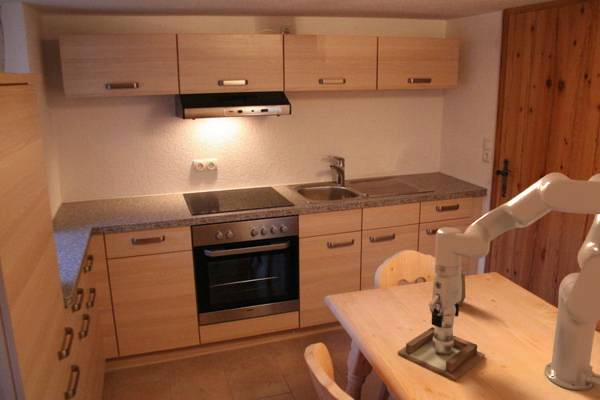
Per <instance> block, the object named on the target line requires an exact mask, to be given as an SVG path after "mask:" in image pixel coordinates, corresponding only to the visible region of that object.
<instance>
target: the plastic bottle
mask: <svg viewBox="0 0 600 400" xmlns="http://www.w3.org/2000/svg"><path fill="white" fill-rule="evenodd" d="M438 304H439V305H441V303H438ZM436 309H437V310H438V311H439V309H440V307H436ZM455 313H456V308H455V305H453V306H451V307H450V308H448V309H444V308H443V311H442V313H441V315H442V327H441V328H439V327H437V326H434V328H435V330H434V336H433V340H432V347H433V349H434V350H435V351H436V352H437V353H440V354H449V353H451V352H452V351H453V348H454V339H453V335H454V323H455V322H454V321H455V318H456V316H455Z"/></svg>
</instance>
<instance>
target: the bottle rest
mask: <svg viewBox="0 0 600 400" xmlns="http://www.w3.org/2000/svg"><path fill="white" fill-rule="evenodd" d="M434 330H435V327H433V326H432V327H430V328H429V329H427V330H426V331H424V332H422V333H421V334H419V335H417V336H415V337H414V338H413V339H411V340H410V341H408V342H406V344H405V346H404V347H402V348H401V349H399V350H398V351H397V355H398V356H400V357H402V358H405V359H407V360H408V361H411V362H413V363H415V364H418V365H419V366H422V367H424V368H426V369H428V370H431V371H432V372H434V373H437V374H439V375H441V376H443V377H445V378H448V379H449V380H452V381H453V382H456V381H458V380H459V379H460V378H461V377H462V376H463V375H464V374H466V373H467V372H468V371H469V370H470V369H472V368H473V367H475V366H476V365H477V364H478V363H479V362H481V361H482V360H483V359H484V358H486V354H485V353H483V352H481V351H478V344H476V343H474V342H471V341H468V340H466V339H463V338H461V337H459V336H456V335H454V334H453V339H454V348H453V351H452V352H451V353H449V354H440V353H437V352H436V351H435V350H434V349H433V347H432V340H433V336H434Z"/></svg>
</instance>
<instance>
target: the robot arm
mask: <svg viewBox="0 0 600 400" xmlns="http://www.w3.org/2000/svg"><path fill="white" fill-rule="evenodd" d="M551 211H556V212H563V213H571V214H572V213H573V214H585V215H594V219H593V222H592V224H591V227H590V229H589V230H588V232H587V236H586V237H585V239H584V241H583V243H582V245H581V247H580V249H579V251H578V253H577V263H578V266H579V267H580V271H579V272H573V273H569V274H567V275H566V276H564V277H563V279H562V280H561V282H560V284H559V288H558V302H557V303H558V305H557V315H556V316H557V317H556V325H555V332H554V340H553V347H552V348H553V349H552V355H551V356H552V357H551V362H549V363H548V364H546V365H545V366H544V370H543V371H544V375H545V376H546V378H547V379H548V380H549V381H551V382H552V383H554V384H556V385H558V386H560V387H562V388H564V389H565V388H566V389H569V390H573V391H576V390H577V391H584V390H589V389H591V388H592V387H593V386H594V385H596V386H598V387H600V374H597V373H595V372H594V371H593V368H594V367H593V365H590V364H591V359H592V353H593V352H592V351H593V344H594V340H595V339H594V338H595V332H596V325H597V322H598V321H600V173H596V174H594V175H592V176H591V177H590V178H589V179H587V180H577V179H571V178H569V177H568V176H567V175H565V174H564V173H561V172H550V173H547V174H546V175H545V176H543V177H541V178H540V179H538V180H537V181H535V182H534V183H532V184H531V185H530V186H528V187H527V188H525V189H524V190H523V191H522V192H520V193H519V194H517V195H516V196H514V197H512V198H511V199H510V200H508V201H507V202H505V203H503V204H501V205H499V206H498V207H496V208H494V209H492V210H490V211H489V212H487V213H486V214H484V215H483V216H481V217H480V218H478V219H477V220H476V221H475V222H473V223H472V224H470V225H469V226H468V227H467V228H466V229H465V230H464V233H463V232H462V231H461V230H460V229H459V228H457V227H450V226H447V227H446V226H445V227H440V228H438V230H437V231H436V233H435V253H434V278H433V284H432V285H433V286H432V296H431V297H432V298H431V300H430V302H429V304H428V306H429V310H430V313H431V325H432V326H434V327H435V326H437V327H439V328H441V327H442V315H441V313H442V311H443V308H444V309H448V308H450V307H451V306H453V305H455V308H456V313H455V318H457V317H459V312H460V311H459V310H460V306H459V305H458V304H459V303H460V300H461V299H462V277H461V268H462V257H463V258H464V257H465V258H469V259H473V260H477V259H478V260H480V259H484V258H485V257H486V256H487V255H488V254H489V252H490V250H491V249H490V248H491V241H493V240H495V239H496V238H498V236H500V235H502V234H504V233H506V232H508V231H510V230H512V229H519V228H521V229H522V228H526V227H530V226H531V225H532V224H533V223H535V222H536V221H539V219H541V218H543V217H544V216H545V215H547V214H548V213H550V212H551ZM438 303H441V305H439V304H438ZM436 307H440V309H439V311H438V310H437V309H436Z"/></svg>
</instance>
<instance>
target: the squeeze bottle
mask: <svg viewBox="0 0 600 400" xmlns="http://www.w3.org/2000/svg"><path fill="white" fill-rule="evenodd" d="M463 272H464V271H463V268H462V267H461V277H462V299H461V300H460V303H459V304H458V305H459V307H461V306H462V305H463V304H464V301H465V299H466V296H467V295H466V277H465V276H466V275H464V274H463Z"/></svg>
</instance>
